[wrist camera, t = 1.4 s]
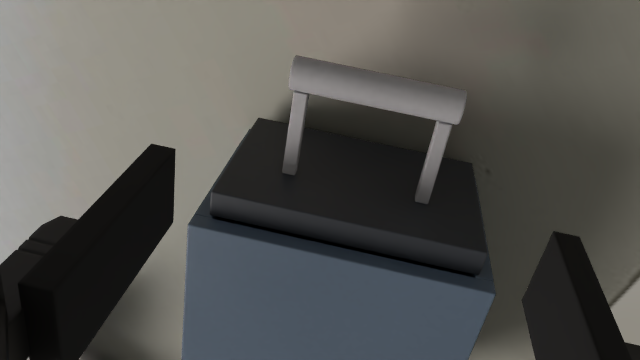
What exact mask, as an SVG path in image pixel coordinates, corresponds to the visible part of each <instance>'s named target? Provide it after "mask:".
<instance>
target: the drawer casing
mask: <svg viewBox="0 0 640 360" xmlns="http://www.w3.org/2000/svg"><path fill="white" fill-rule="evenodd" d="M250 130H251V129H249V131H248V132H247V134H246V135H245V137H244V138H243V140H242V141H241V143H240V144H239V146H238V147H237V149H236V151H235V152H234V154H233V155H232V157H231V158H230V160H229V161H228V163H227V165H226V166H225V168H224V169H223V171H222V172H221V174H220V175H219V177H218V179H217V180H216V182H215V183H214V185H213V186H212V188H211V189H210V191H209V192H208V194H207V196H206V197H205V199H204V200H203V202H202V203H201V205H200V206H199V208H198V210H197V211H196V213H195V215H194V216H193V218H192V219H191V221H190V222H189V224H188V233H187V254H186V275H185V296H184V317H183V338H182V359H181V360H468V359H469V357H470V354H471V352H472V349H473V347H474V345H475V342H476V340H477V338H478V335H479V333H480V331H481V328H482V326H483V324H484V321H485V319H486V317H487V314H488V312H489V310H490V307H491V305H492V303H493V300H494V298H495V295H496V292H495V286H494V281H493V275H492V269H491V264H490V258H489V252H488V247H487V252H488V254H487V257H486V259H485V262H484V264H483V267H482V270H481V272H480V274H479V275H475V274H470V273H466V272H462V271H457V270H453V269H451V272H447V271H443V270H438V269H434V268H430V267H425V266H421V265H416V264H412V263H407V262H403V261H399V260H394V259H390V258H385V257H381V256H376V255H372V254H367V253H363V252H359V251H354V250H350V249H345V248H341V247H336V246H332V245H327V244H323V243H319V242H314V241H310V240H305V239H301V238H296V237H292V236H288V235H283V234H279V233H274V232H270V231H265V230H261V229H256V228H252V227H248V226H243V225H239V224H234V223H235V220H230V219H226V218H221V217H217V216H212V215H210V200H211V191H212V190H213V188H214V187H215V185H216V184H217V182H218V180H219V179H220V177H221V176H222V174H223V173H224V171H225V169H226V168H227V166H228V165H229V163H230V162H231V160H232V158H233V157H234V155H235V154H236V152H237V151H238V149H239V147H240V146H241V144H242V143H243V141H244V140H245V138H246V136H247V135H248V133H249V132H250ZM475 183H476V180H475ZM476 189H477V185H476ZM477 194H478V190H477ZM478 200H479V196H478ZM479 206H480V201H479ZM480 212H481V207H480ZM481 217H482V213H481ZM482 223H483V218H482ZM483 229H484V224H483ZM484 235H485V230H484ZM485 240H486V235H485ZM486 246H487V241H486Z"/></svg>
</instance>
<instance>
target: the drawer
mask: <svg viewBox="0 0 640 360" xmlns="http://www.w3.org/2000/svg"><path fill="white" fill-rule="evenodd" d="M289 89H290V90H294V93H293V100H292V107H291V113H290V120H289V124H286V123H281V122H277V121H272V120H267V119H263V118H258V119H257V121H256V122H255V124H254V125H253V127H252V129H251V130H250V132H249V133H248V135H247V136H246V138H245V140H244V141H243V143H242V144H241V146H240V147H239V149H238V151H237V152H236V154H235V155H234V157H233V158H232V160H231V162H230V163H229V165H228V166H227V168H226V169H225V171H224V173H223V174H222V176H221V177H220V179H219V180H218V182H217V184H216V185H215V187H214V188H213V190H212V191H211V200H210V215H212V216H217V217H221V218H226V219H230V220H235V223H234V224H239V225H243V226H248V227H252V228H256V229H261V230H265V231H270V232H274V233H279V234H283V235H288V236H292V237H296V238H301V239H305V240H310V241H314V242H319V243H323V244H327V245H332V246H336V247H341V248H345V249H350V250H354V251H359V252H363V253H367V254H372V255H376V256H381V257H385V258H390V259H394V260H399V261H403V262H407V263H412V264H416V265H421V266H425V267H430V268H434V269H438V270H443V271H447V272H451V269H453V270H457V271H462V272H466V273H470V274H475V275H479V274H480V272H481V270H482V267H483V264H484V262H485V259H486V257H487V254H488V252H487V246H486V240H485V235H484V229H483V223H482V217H481V212H480V206H479V200H478V194H477V189H476V183H475V177H474V172H473V166H472V163H468V162H463V161H459V160H454V159H449V158H445V157H443V154H444V151H445V148H446V144H447V141H448V138H449V135H450V132H451V128H452V124H456V125H457V124H459V122H460V121H461V119H462V116H463V113H464V109H465V105H466V99H467V92H466V91H465V90H461V89H457V88H452V87H447V86H442V85H437V84H432V83H428V82H423V81H418V80H413V79H408V78H404V77H399V76H394V75H389V74H384V73H379V72H375V71H370V70H365V69H360V68H355V67H350V66H346V65H341V64H336V63H331V62H326V61H321V60H317V59H312V58H307V57H302V56H295V57H294V60H293V62H292V66H291V70H290V76H289ZM309 94H313V95H318V96H323V97H328V98H332V99H337V100H342V101H347V102H351V103H356V104H361V105H366V106H370V107H375V108H380V109H385V110H389V111H394V112H399V113H404V114H408V115H413V116H418V117H423V118H427V119H432V120H437V121H436V125H435V128H434V132H433V135H432V138H431V142H430V145H429V149H428V152H427V154H426V153H421V152H417V151H412V150H407V149H403V148H398V147H393V146H389V145H384V144H379V143H375V142H370V141H365V140H361V139H356V138H351V137H347V136H342V135H337V134H333V133H328V132H323V131H319V130H314V129H309V128H305V127H304V124H305V118H306V112H307V106H308V99H309Z"/></svg>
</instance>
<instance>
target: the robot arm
mask: <svg viewBox="0 0 640 360" xmlns="http://www.w3.org/2000/svg"><path fill="white" fill-rule="evenodd" d="M174 179H175V149H173V148H169V147H164V146H159V145H155V144H151V145H150V146H149V147H148V148H147V149H146V150H145V151H144V152H143V153H142V154H141V155H140V156H139V157H138V158H137V159H136V160H135V161H134V162H133V163H132V164H131V165H130V166H129V168H128V169H127V170H126V171H125V172H124V173H123V174H122V175H121V176H120V177H119V178H118V179H117V180H116V181H115V182H114V183H113V184H112V185H111V186H110V187H109V188H108V189H107V190H106V191H105V193H104V194H103V195H102V196H101V197H100V198H99V199H98V200H97V201H96V202H95V203H94V204H93V205H92V206H91V207H90V208H89V209H88V210H87V211H86V212H85V213H84V214H83V215H82V216H81V218H80V219H79V220H77V219H73V218H68V217H64V216H59V217H57V218H55V219H53V220H51V221H49V222H47V223H45V224H43V225H41V226H40V227H39V228H38V229H37V230H36V231H35V232H34V233H33V234H32V235H31V236H30V237H29V240H26V241H25V242H24V243H23V244H22V245H21V246H20V247H19V249H18V250H15V251H14V252H13V253H12V254H11V255H10V256H9V257H8V258H7V259H6V260H5V261H4V262H3V263H2V264H1V265H0V360H27V359H28V357H29V360H78V359H79V358H80V357H81V355H82V354H83V352H84V351H85V349H86V348H87V346H88V345H89V343H90V342H91V341H92V339H93V338H94V336H95V335H96V333H97V332H98V330H99V329H100V327H101V326H102V325H103V323H104V322H105V320H106V319H107V317H108V316H109V314H110V313H111V312H112V310H113V309H114V307H115V306H116V304H117V303H118V301H119V300H120V298H121V297H122V296H123V294H124V293H125V291H126V290H127V288H128V287H129V285H130V284H131V283H132V281H133V280H134V278H135V277H136V275H137V274H138V272H139V271H140V269H141V268H142V267H143V265H144V264H145V262H146V261H147V259H148V258H149V256H150V255H151V254H152V252H153V251H154V249H155V248H156V246H157V245H158V243H159V242H160V240H161V239H162V238H163V236H164V235H165V233H166V232H167V230H168V229H169V227H170V226H171V224H172V223H173V214H174ZM522 303H523V308H524V312H525V316H526V321H527V325H528V329H529V334H530V338H531V342H532V346H533V351H534V355H535V359H536V360H640V346H639V345H634V344H629V343H625V342H624V340H623V338H622V335H621V333H620V331H619V328H618V326H617V324H616V321H615V319H614V317H613V314H612V312H611V310H610V307H609V305H608V303H607V300H606V298H605V295H604V293H603V291H602V288H601V286H600V284H599V281H598V279H597V277H596V274H595V272H594V270H593V267H592V265H591V263H590V260H589V258H588V256H587V253H586V251H585V249H584V246H583V244H582V242H581V239H580V237H578V236H573V235H569V234H564V233H560V232H555V231H553V233H552V235H551V238H550V240H549V242H548V244H547V246H546V248H545V251H544V253H543V255H542V257H541V259H540V262H539V264H538V266H537V268H536V270H535V272H534V275H533V277H532V279H531V281H530V283H529V286H528V288H527V290H526V292H525V294H524V296H523V299H522Z"/></svg>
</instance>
